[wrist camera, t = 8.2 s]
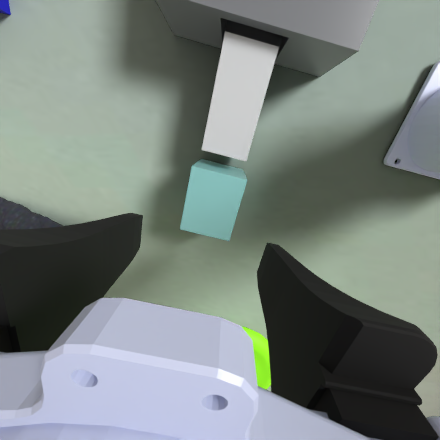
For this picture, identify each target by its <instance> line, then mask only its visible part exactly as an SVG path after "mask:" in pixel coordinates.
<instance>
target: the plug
mask: <svg viewBox="0 0 440 440" xmlns="http://www.w3.org/2000/svg"><path fill="white" fill-rule="evenodd" d="M278 49H279V47H277V46H274V45H271V44H267V43H264V42H260V41H257V40H254V39H250V38H247V37H243V36H240V35H236V34H233V33H230V32H226V31H225V35H224V40H223V45H222V50H221V55H220V60H219V65H218V70H217V75H216V80H215V85H214V90H213V95H212V100H211V105H210V110H209V115H208V120H207V125H206V130H205V135H204V140H203V145H202V150H204V151H208V152H212V153H216V154H220V155H223V156H227V157H231V158H235V159H239V160H243V161H247V158H248V154H249V151H250V147H251V144H252V140H253V137H254V133H255V129H256V126H257V122H258V119H259V115H260V112H261V108H262V105H263V101H264V98H265V94H266V91H267V87H268V84H269V80H270V77H271V73H272V70H273V66H274V63H275V59H276V56H277V52H278ZM246 183H247V178H246V176H245V173H244V171H243V169H240V168H236V167H232V166H228V165H224V164H220V163H216V162H212V161H209V160H205V159H200V160H199V161H198V162H196V163H195V164H194V165H192V168H191V173H190V178H189V183H188V189H187V194H186V199H185V205H184V210H183V215H182V220H181V226H180V229H181V230H185V231H189V232H193V233H197V234H201V235H206V236H210V237H214V238H218V239H222V240H227V241H229V240H230V237H231V233H232V230H233V227H234V223H235V220H236V217H237V213H238V210H239V206H240V203H241V200H242V196H243V193H244V190H245V186H246Z"/></svg>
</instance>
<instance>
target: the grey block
mask: <svg viewBox="0 0 440 440" xmlns="http://www.w3.org/2000/svg"><path fill="white" fill-rule="evenodd" d="M156 2H157V4H158V6H159V8H160V10H161V11H162V13H163V15H164V17H165V19H166V21H167V23H168V24H169V26H170V28H171V30H172V32H173V34H174V35H176V36H179V37H183V38H186V39H189V40H193V41H196V42H200V43H203V44H207V45H210V46H214V47H217V48H221V49H222V45H223V40H224V35H225V31H226V32H230V33H233V34H236V35H240V36H243V37H247V38H250V39H254V40H257V41H260V42H264V43H267V44H271V45H274V46H277V47H279V49H278V52H277V56H276V59H275V63H274V64H276V65H280V66H283V67H287V68H290V69H294V70H297V71H301V72H304V73H308V74H311V75H315V76H318V77H321V76H322V75H324V74H325V73H326V72H328V71H329V70H331V69H332V68H334V67H335V66H337V65H338V64H340V63H341V62H343V61H344V60H346V59H347V58H349V57H350V56H352V55H353V54H355V53H356V52H358V51H359V49H360V46H361V44H362V41H363V39H364V36H365V34H366V31H367V29H368V27H369V24H370V22H371V19H372V17H373V14H374V12H375V9H376V7H377V4H378V2H379V0H156Z"/></svg>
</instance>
